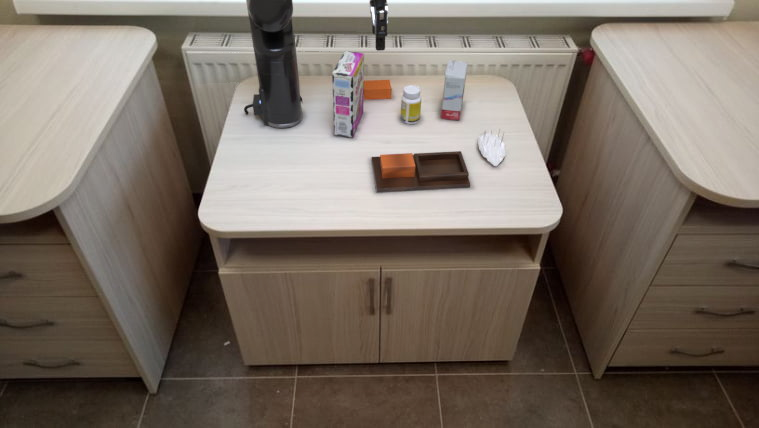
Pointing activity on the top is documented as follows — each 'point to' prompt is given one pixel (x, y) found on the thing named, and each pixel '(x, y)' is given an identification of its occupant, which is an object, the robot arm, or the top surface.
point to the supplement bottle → (411, 104)
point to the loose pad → (377, 89)
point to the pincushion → (492, 147)
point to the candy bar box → (348, 93)
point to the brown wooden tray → (420, 171)
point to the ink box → (453, 89)
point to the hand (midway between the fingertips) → (378, 41)
